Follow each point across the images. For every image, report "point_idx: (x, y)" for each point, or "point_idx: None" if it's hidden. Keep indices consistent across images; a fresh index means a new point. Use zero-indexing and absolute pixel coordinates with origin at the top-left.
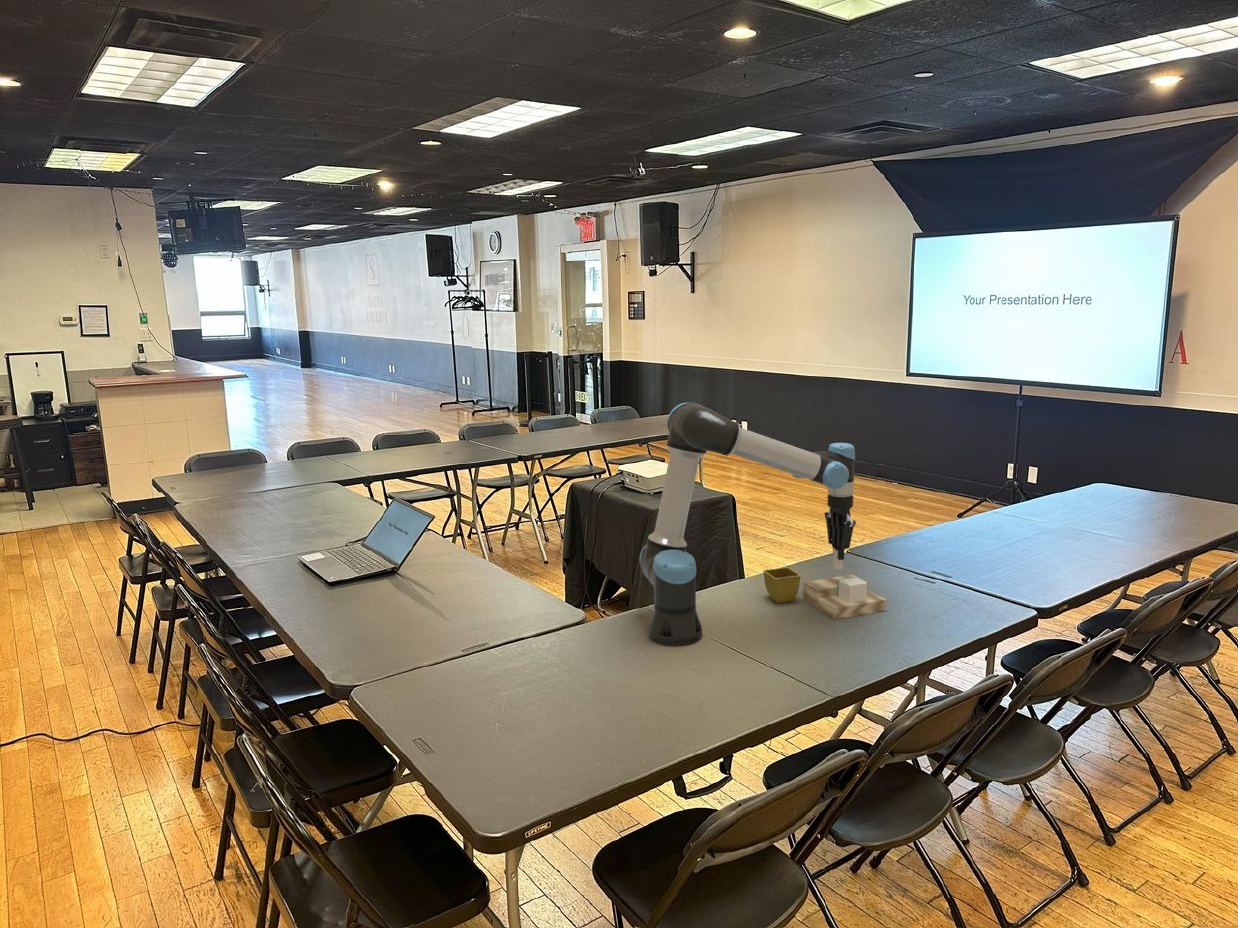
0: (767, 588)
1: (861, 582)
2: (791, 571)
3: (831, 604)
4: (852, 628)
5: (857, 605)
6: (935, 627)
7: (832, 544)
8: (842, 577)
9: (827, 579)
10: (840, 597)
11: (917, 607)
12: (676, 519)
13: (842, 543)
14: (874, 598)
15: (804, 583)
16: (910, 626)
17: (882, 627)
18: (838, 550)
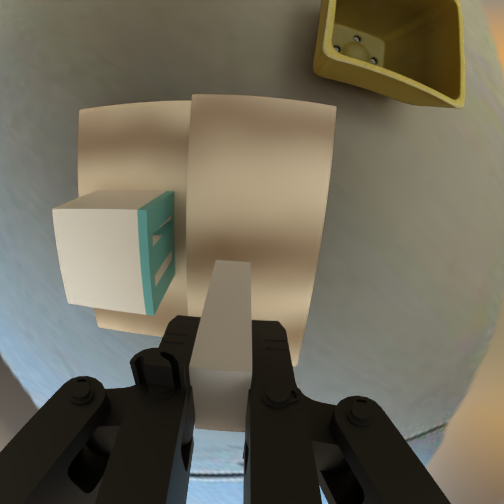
0: (398, 14)
1: (76, 287)
2: (418, 83)
3: (113, 114)
4: (37, 130)
5: None
6: (18, 319)
7: (291, 407)
8: (290, 317)
9: (307, 242)
10: (151, 191)
11: (118, 377)
12: None
13: (46, 431)
14: None
15: (325, 105)
16: (22, 280)
17: (23, 214)
18: (186, 376)
